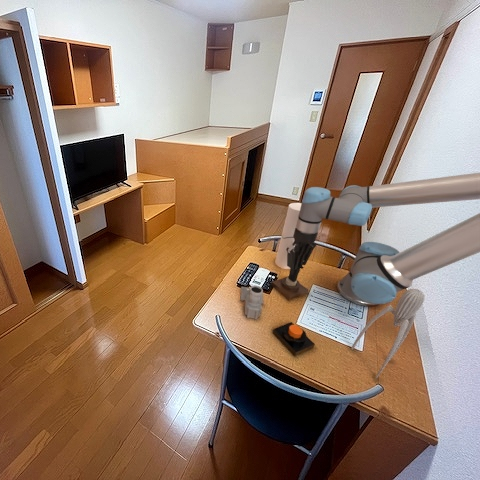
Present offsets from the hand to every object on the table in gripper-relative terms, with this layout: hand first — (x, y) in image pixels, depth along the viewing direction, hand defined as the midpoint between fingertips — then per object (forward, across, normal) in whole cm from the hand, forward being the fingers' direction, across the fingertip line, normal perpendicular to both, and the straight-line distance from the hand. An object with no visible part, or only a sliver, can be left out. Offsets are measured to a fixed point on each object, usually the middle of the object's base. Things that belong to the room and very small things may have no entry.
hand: (292, 279), depth 107 cm
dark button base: (+6, +18, +20) cm, 27 cm away
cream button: (+2, 0, 0) cm, 2 cm away
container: (+6, -12, -15) cm, 20 cm away
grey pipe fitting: (+6, +20, +1) cm, 21 cm away
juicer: (+6, 0, +36) cm, 36 cm away
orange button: (+2, +18, +20) cm, 27 cm away
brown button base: (+6, 0, 0) cm, 6 cm away
